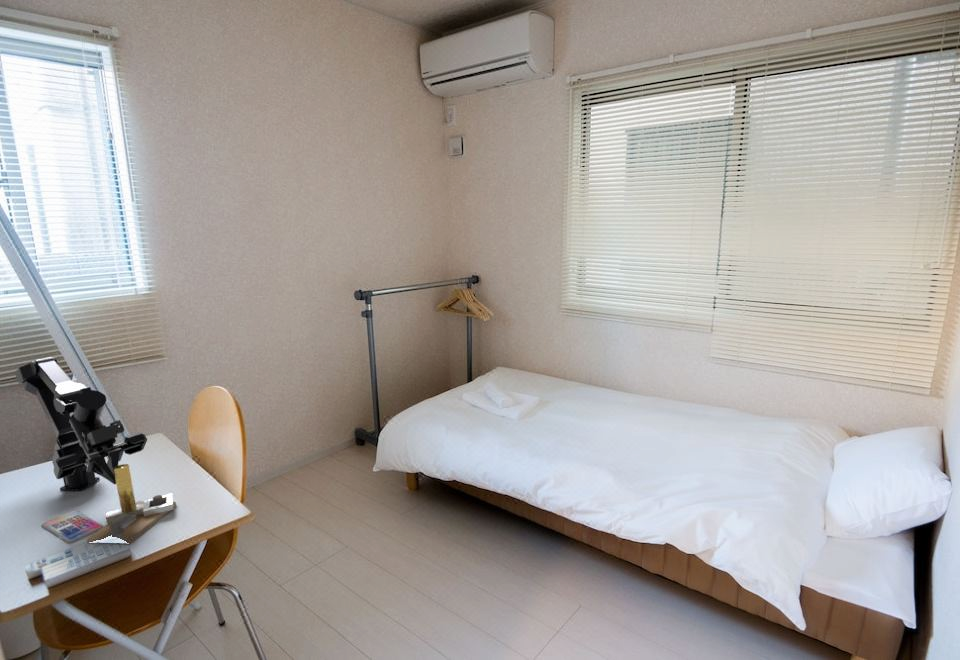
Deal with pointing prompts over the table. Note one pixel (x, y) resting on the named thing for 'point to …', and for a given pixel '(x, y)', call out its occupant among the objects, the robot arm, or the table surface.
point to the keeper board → (130, 524)
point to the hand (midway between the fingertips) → (117, 483)
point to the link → (128, 498)
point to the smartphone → (72, 526)
